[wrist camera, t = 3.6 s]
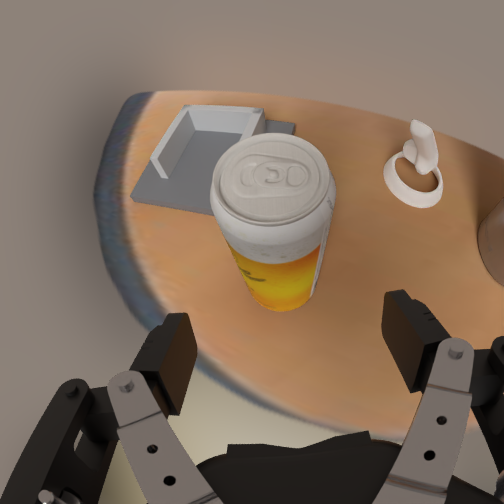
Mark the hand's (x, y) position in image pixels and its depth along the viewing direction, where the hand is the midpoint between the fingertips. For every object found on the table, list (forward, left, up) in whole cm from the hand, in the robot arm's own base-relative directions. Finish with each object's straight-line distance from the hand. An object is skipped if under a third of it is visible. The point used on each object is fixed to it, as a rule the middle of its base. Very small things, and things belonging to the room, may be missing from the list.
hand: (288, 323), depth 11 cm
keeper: (+13, -18, -14) cm, 26 cm away
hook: (-10, -21, -14) cm, 27 cm away
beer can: (+2, -6, -14) cm, 15 cm away
